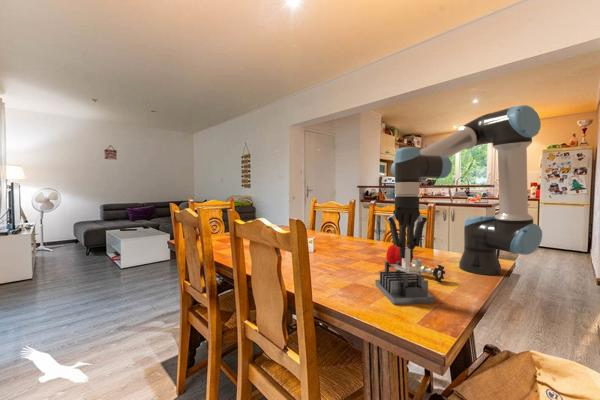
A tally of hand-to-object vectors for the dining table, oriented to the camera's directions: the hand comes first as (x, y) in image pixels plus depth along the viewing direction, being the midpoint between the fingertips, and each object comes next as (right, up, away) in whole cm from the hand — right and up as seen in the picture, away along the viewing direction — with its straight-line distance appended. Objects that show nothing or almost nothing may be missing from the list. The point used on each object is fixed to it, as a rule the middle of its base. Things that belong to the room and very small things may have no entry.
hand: (405, 267), depth 91 cm
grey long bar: (0, -2, +4) cm, 4 cm away
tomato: (+10, -8, +35) cm, 37 cm away
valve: (+15, -9, +19) cm, 26 cm away
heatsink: (0, -10, +3) cm, 10 cm away
